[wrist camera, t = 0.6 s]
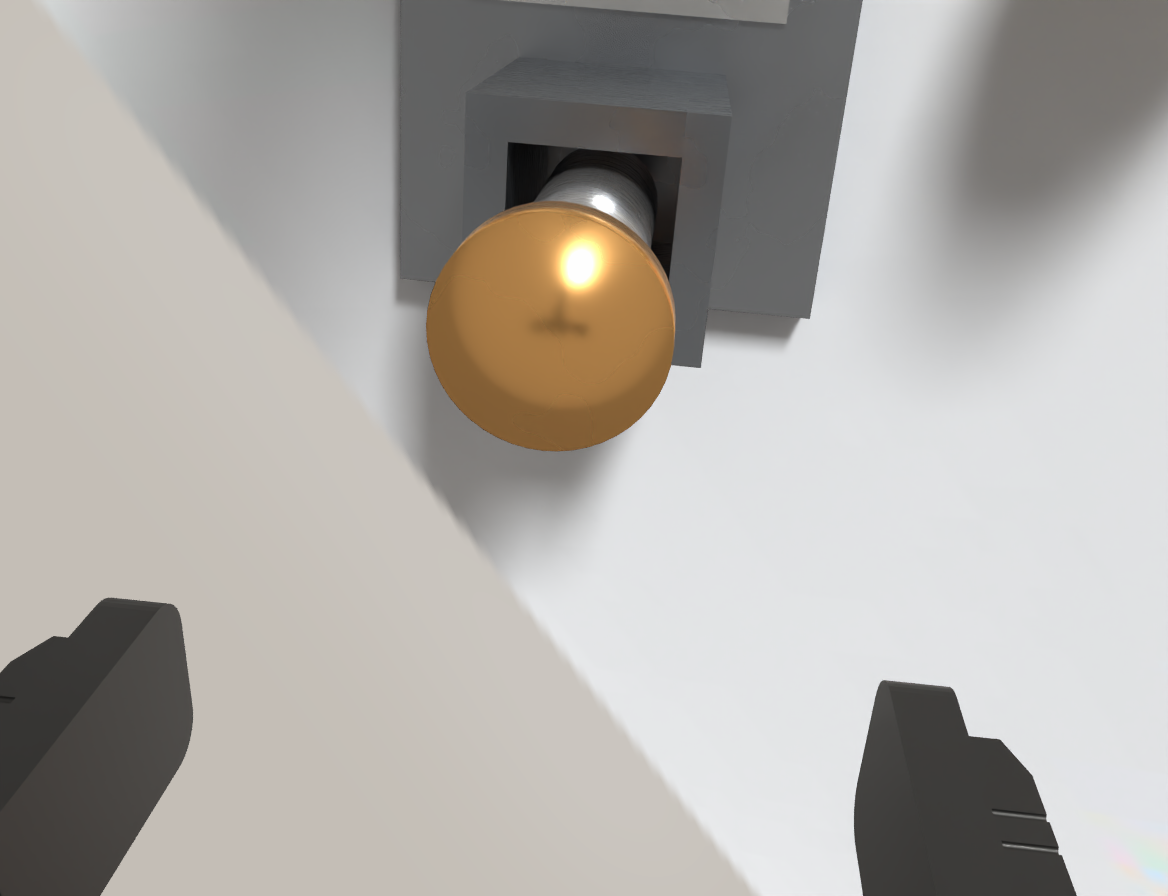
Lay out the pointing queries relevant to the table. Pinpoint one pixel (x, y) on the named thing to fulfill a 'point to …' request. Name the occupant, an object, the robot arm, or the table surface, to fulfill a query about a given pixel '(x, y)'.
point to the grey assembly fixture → (635, 131)
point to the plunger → (558, 310)
